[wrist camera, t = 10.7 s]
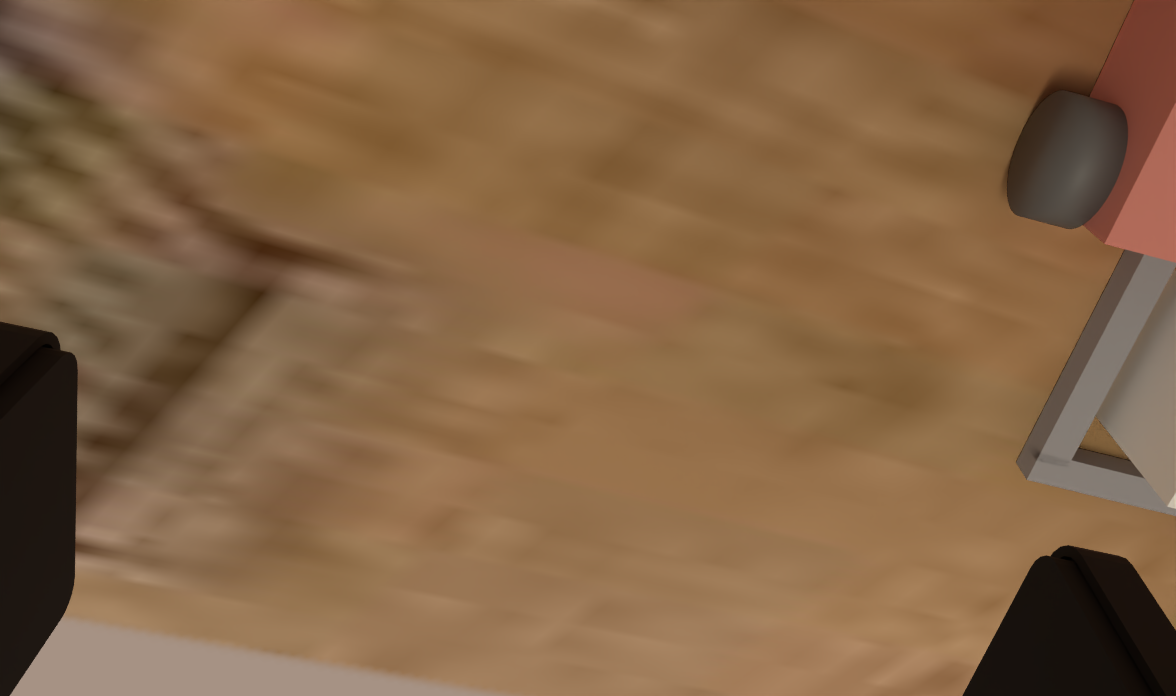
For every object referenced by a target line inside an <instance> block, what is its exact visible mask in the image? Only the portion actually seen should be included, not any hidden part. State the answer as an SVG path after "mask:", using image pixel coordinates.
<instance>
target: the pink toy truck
mask: <svg viewBox="0 0 1176 696" xmlns="http://www.w3.org/2000/svg"><path fill="white" fill-rule="evenodd" d="M1007 197H1008V202H1009V206H1010V208H1011V210H1012V211H1013V213H1015V214H1016V215H1018V216H1021V217H1025V218H1028V219H1032V220H1036V221H1040V222H1044V223H1047V224H1051V225H1055V226H1059V227H1062V228H1066V229H1074V228H1077V227H1080V226H1082V225H1084V226H1085V227H1086V228H1087V229H1088V230H1089V231H1090V232H1092V233H1093V234H1094V235H1095V236H1096V237H1097V238H1098V239H1100V240H1101V241H1102V242H1103V243H1104V244H1107V245H1111V246H1114V247H1118V248H1122V249H1125V251H1124V253H1123V255H1122V257H1121V259H1120V260H1119V262H1118V264H1117V266H1116V268H1115V270H1114V272H1113V274H1112V276H1111V278H1110V280H1109V282H1108V284H1107V286H1106V288H1105V290H1104V292H1103V294H1102V296H1101V298H1100V300H1099V301H1098V303H1097V305H1096V307H1095V309H1094V311H1093V313H1092V315H1091V317H1090V319H1089V321H1088V323H1087V325H1086V327H1085V329H1084V331H1083V333H1082V335H1081V337H1080V339H1079V341H1078V342H1077V344H1076V346H1075V348H1074V350H1073V352H1072V354H1071V356H1070V358H1069V360H1068V362H1067V364H1066V366H1065V368H1064V370H1063V372H1062V374H1061V376H1060V378H1059V380H1058V382H1057V383H1056V385H1055V387H1054V389H1053V391H1052V393H1051V395H1050V397H1049V399H1048V401H1047V403H1046V405H1045V407H1044V409H1043V411H1042V413H1041V415H1040V417H1039V419H1038V421H1037V423H1036V424H1035V426H1034V428H1033V430H1032V432H1031V434H1030V436H1029V438H1028V440H1027V442H1026V444H1025V446H1024V448H1023V450H1022V452H1021V454H1020V456H1019V458H1018V460H1017V462H1016V463H1017V465H1018V466H1019V468H1020V470H1021V471H1022V473H1023V474H1024V476H1025V478H1026V479H1027V480H1030V481H1034V482H1038V483H1042V484H1046V485H1051V486H1055V487H1059V488H1063V489H1067V490H1071V491H1075V492H1079V493H1083V494H1087V495H1092V496H1096V497H1100V498H1104V499H1108V500H1112V501H1116V502H1120V503H1124V504H1129V505H1133V506H1137V507H1141V508H1145V509H1149V510H1153V511H1157V512H1161V513H1165V514H1170V515H1174V516H1176V509H1175V508H1171V507H1167V506H1166V504H1165V503H1164V502H1163V501H1162V499H1161V498H1160V497H1159V496H1158V494H1157V493H1156V492H1155V491H1154V489H1153V488H1152V487H1151V485H1150V484H1149V483H1148V482H1147V480H1146V479H1145V478H1144V477H1143V475H1142V474H1141V473H1140V472H1139V470H1138V469H1137V468H1136V467H1135V465H1134V464H1133V463H1132V461H1129V460H1125V459H1120V458H1116V457H1112V456H1108V455H1104V454H1100V453H1096V452H1092V451H1088V450H1084V449H1080V448H1078V447H1079V445H1080V443H1081V442H1082V440H1083V438H1084V436H1085V434H1086V432H1087V430H1088V429H1089V427H1090V425H1091V423H1092V421H1093V419H1094V417H1095V416H1096V414H1097V412H1098V410H1099V408H1100V406H1101V404H1102V403H1103V401H1104V399H1105V397H1106V395H1107V393H1108V391H1109V390H1110V388H1111V386H1112V384H1113V382H1114V380H1115V378H1116V377H1117V375H1118V373H1119V371H1120V369H1121V367H1122V365H1123V364H1124V362H1125V360H1126V358H1127V356H1128V354H1129V352H1130V351H1131V349H1132V347H1133V345H1134V343H1135V341H1136V339H1137V338H1138V336H1139V334H1140V332H1141V330H1142V328H1143V326H1144V325H1145V323H1146V321H1147V319H1148V317H1149V315H1150V313H1151V312H1152V310H1153V308H1154V306H1155V304H1156V302H1157V300H1158V299H1159V297H1160V295H1161V293H1162V291H1163V289H1164V287H1165V286H1166V284H1167V282H1168V280H1169V278H1170V276H1171V274H1172V273H1173V271H1174V269H1175V267H1176V0H1134V2H1133V4H1132V6H1131V8H1130V10H1129V13H1128V15H1127V17H1126V19H1125V21H1124V23H1123V25H1122V28H1121V30H1120V32H1119V34H1118V36H1117V38H1116V41H1115V43H1114V45H1113V47H1112V49H1111V51H1110V53H1109V56H1108V58H1107V60H1106V62H1105V64H1104V66H1103V68H1102V71H1101V73H1100V75H1099V77H1098V79H1097V81H1096V84H1095V86H1094V88H1093V90H1092V92H1091V94H1090V96H1089V97H1087V96H1084V95H1080V94H1077V93H1073V92H1069V91H1066V90H1060V91H1057V92H1054V93H1052V94H1051V95H1049V96H1048V97H1047V98H1046V99H1045V100H1044V101H1043V102H1042V103H1041V104H1040V105H1039V106H1038V107H1037V108H1036V110H1035V111H1034V112H1033V114H1032V115H1031V117H1030V118H1029V120H1028V122H1027V123H1026V125H1025V127H1024V129H1023V131H1022V133H1021V135H1020V137H1019V140H1018V142H1017V144H1016V147H1015V150H1014V153H1013V156H1012V160H1011V164H1010V168H1009V173H1008V181H1007Z"/></svg>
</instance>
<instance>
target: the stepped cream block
mask: <svg viewBox="0 0 1176 696" xmlns="http://www.w3.org/2000/svg"><path fill="white" fill-rule="evenodd" d="M1096 417H1097V418H1098V420H1099V421H1100V422H1101V424H1102V425H1103V426H1104V427H1105V429H1106V430H1107V431H1108V432H1109V434H1110V435H1111V436H1112V437H1113V439H1114V440H1115V441H1116V443H1117V444H1118V445H1119V446H1120V448H1121V449H1122V450H1123V451H1124V453H1125V454H1126V455H1127V456H1128V458H1129V459H1130V460H1131V461H1132V463H1133V464H1134V465H1135V467H1136V468H1137V469H1138V470H1139V472H1140V473H1141V474H1142V475H1143V477H1144V478H1145V479H1146V480H1147V482H1148V483H1149V484H1150V485H1151V487H1152V488H1153V489H1154V491H1155V492H1156V493H1157V494H1158V496H1159V497H1160V498H1161V499H1162V501H1163V502H1164V503H1165V504H1166V506H1167V507H1171V508H1175V509H1176V270H1174V271H1173V273H1172V275H1171V277H1170V278H1169V280H1168V282H1167V284H1166V286H1165V287H1164V289H1163V291H1162V293H1161V295H1160V297H1159V299H1158V300H1157V302H1156V304H1155V306H1154V308H1153V310H1152V312H1151V313H1150V315H1149V317H1148V319H1147V321H1146V323H1145V325H1144V326H1143V328H1142V330H1141V332H1140V334H1139V336H1138V338H1137V339H1136V341H1135V343H1134V345H1133V347H1132V349H1131V351H1130V352H1129V354H1128V356H1127V358H1126V360H1125V362H1124V364H1123V365H1122V367H1121V369H1120V371H1119V373H1118V375H1117V377H1116V378H1115V380H1114V382H1113V384H1112V386H1111V388H1110V390H1109V391H1108V393H1107V395H1106V397H1105V399H1104V401H1103V403H1102V404H1101V406H1100V408H1099V410H1098V412H1097V414H1096Z"/></svg>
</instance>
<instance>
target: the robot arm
mask: <svg viewBox="0 0 1176 696" xmlns="http://www.w3.org/2000/svg"><path fill="white" fill-rule="evenodd" d="M77 376H78V369H77V360H76V358H75V355H73V354H72V353H70V352H66V351H61V350H60V344H59V341H58V338H57V336H55V335H54V334H53V333H52V332H47V331H42V330H37V329H32V328H28V327H23V326H18V325H13V324H9V323H4V322H0V696H10V694H11V693H12V691H13V690H14V688H15V687H16V685H17V684H18V682H19V681H20V679H21V678H22V676H23V675H24V673H25V672H26V670H27V669H28V668H29V666H30V665H31V663H32V662H33V660H34V659H35V657H36V655H37V654H38V653H39V651H40V649H41V648H42V647H43V645H44V644H45V642H46V641H47V639H48V638H49V636H50V635H51V633H52V632H53V630H54V629H55V627H56V626H57V624H58V623H59V621H60V620H61V618H62V616H63V615H64V613H65V611H66V608H67V606H68V604H69V601H70V598H71V595H72V591H73V586H74V579H75V525H76V450H77ZM963 696H1176V630H1175V629H1174V627H1173V626H1172V624H1171V623H1170V621H1169V620H1168V618H1167V617H1166V615H1165V614H1164V612H1163V611H1162V609H1161V608H1160V606H1159V605H1158V603H1157V601H1156V600H1155V598H1154V597H1153V595H1152V594H1151V592H1150V591H1149V589H1148V588H1147V586H1146V585H1145V583H1144V582H1143V580H1142V579H1141V577H1140V576H1139V574H1138V573H1137V571H1136V570H1135V568H1134V567H1133V565H1132V564H1131V563H1130V562H1129V561H1128V560H1127V559H1126V558H1123V557H1120V556H1117V555H1112V554H1107V553H1103V552H1098V551H1093V550H1088V549H1084V548H1079V547H1074V546H1069V545H1067V546H1062V547H1060V548H1058V549H1057V550H1056V551H1054V552H1053V554H1052V555H1051V556H1042V557H1040V558H1038V559H1037V560H1036V561H1035V562H1034V564H1033V565H1032V566H1031V568H1030V570H1029V572H1028V574H1027V576H1026V577H1025V579H1024V581H1023V583H1022V585H1021V587H1020V589H1019V591H1018V592H1017V594H1016V596H1015V598H1014V600H1013V602H1012V604H1011V606H1010V607H1009V609H1008V611H1007V613H1006V615H1005V617H1004V619H1003V621H1002V622H1001V624H1000V626H999V628H998V630H997V632H996V634H995V636H994V637H993V639H992V641H991V643H990V645H989V647H988V649H987V651H986V652H985V654H984V656H983V658H982V660H981V662H980V664H979V666H978V667H977V669H976V671H975V673H974V675H973V677H972V679H971V681H970V682H969V684H968V686H967V688H966V690H965V692H964V694H963Z"/></svg>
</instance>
